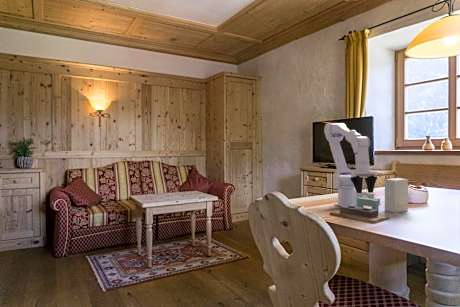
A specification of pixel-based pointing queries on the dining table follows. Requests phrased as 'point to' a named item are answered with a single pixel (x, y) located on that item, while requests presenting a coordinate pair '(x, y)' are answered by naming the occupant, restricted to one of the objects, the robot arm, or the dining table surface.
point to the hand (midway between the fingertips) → (365, 192)
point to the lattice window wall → (369, 196)
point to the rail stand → (359, 214)
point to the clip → (368, 203)
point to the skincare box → (396, 195)
